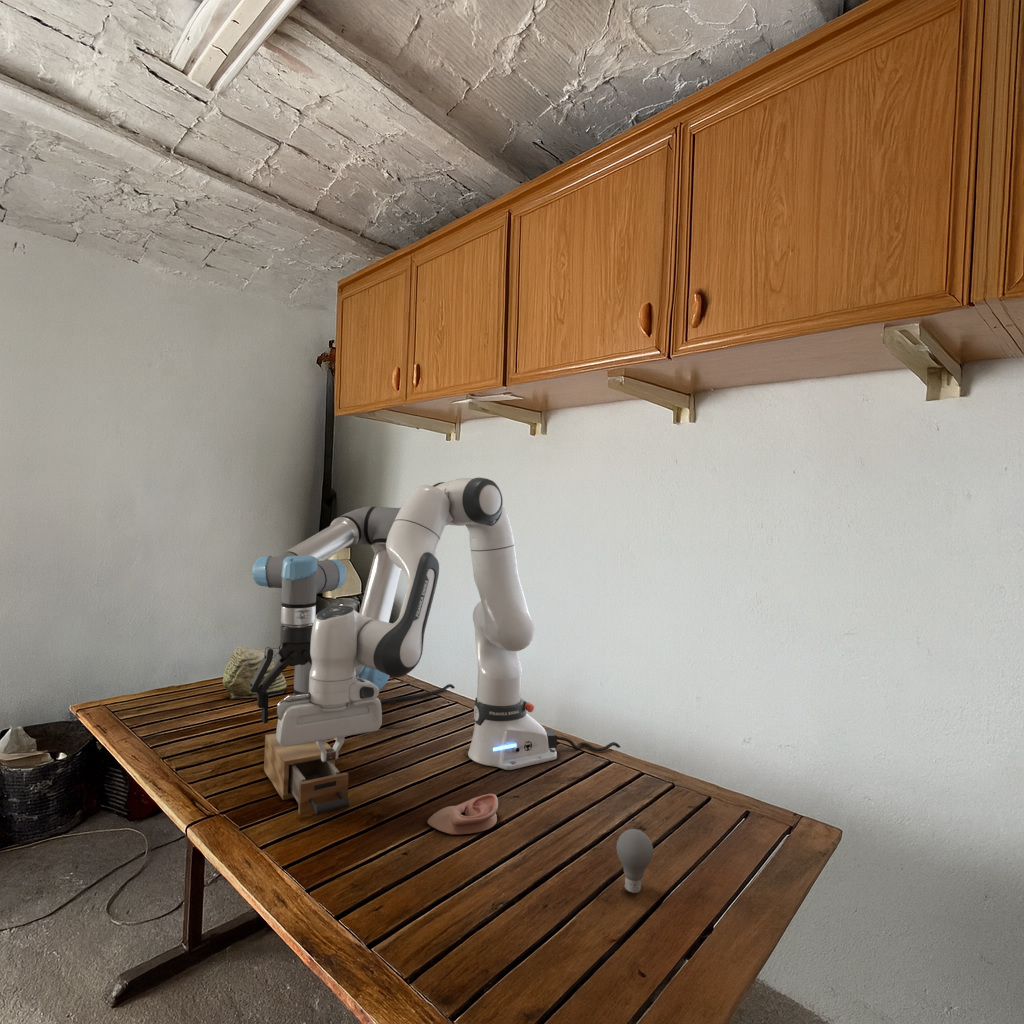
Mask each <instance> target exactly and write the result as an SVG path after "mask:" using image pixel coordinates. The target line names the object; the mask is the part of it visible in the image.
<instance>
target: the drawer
mask: <svg viewBox="0 0 1024 1024" xmlns="http://www.w3.org/2000/svg"><path fill="white" fill-rule="evenodd" d="M349 775H350V774H349V773H348V772H347V771H346V772H340V770H339V769H338V768H337V766H336V765H335V766H334V765H333V764H332V762H331V761H325V762H323V761H322V760H321V759H317V760H312V761H307V762H302V763H297V764H292V765H289V780H288V789H289V790H290V792H291V793H292V795H293V796H294V798H293V799H295V800H296V802H297V805H298V806H297V807H298V809H297V814H298V815H299V817H301V816H305V815H309V814H313V813H314V814H315V815H320V814H324V813H328V812H333V811H337V810H341V809H344V808H348V807H350V804H351V803H350V798H349Z"/></svg>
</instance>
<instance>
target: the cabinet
mask: <svg viewBox="0 0 1024 1024" xmlns="http://www.w3.org/2000/svg"><path fill="white" fill-rule="evenodd" d="M323 746H324V748H325V750H326V749H331V748H332V745H331V746H330V744H329V743H328V742H327V741H326V745H323ZM263 758H264V760H263V761H264V763H263V771H264V773H265V775H266V776H267V778H268V779H269V781H270V782H271V784H272V785H273V787H274V789H275V790H276V792H277V794H278V795H279V796H280V798H281V800H282V801H287V800H291V799H295V798H294V796H293V795H292V793H291V792H290V790H289V789H288V780H289V765H292V764H297V763H302V762H307V761H312V760H317V759H321V751H320V749H319V747H318V746H317V744H316V742H311V743H305V744H300V745H294V746H288V747H283V746H282V745H281V744H279V742H278V741H277V739H276V732H275V733H269V734H265V735H264V757H263ZM330 761H331V762H332V764H333V765H334V766H335V767H336V760H330Z"/></svg>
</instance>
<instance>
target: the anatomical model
mask: <svg viewBox="0 0 1024 1024" xmlns="http://www.w3.org/2000/svg"><path fill="white" fill-rule="evenodd" d="M498 808H499V799H498V797H497V795H496V794H495V793H487V794H483V795H480V796H476V797H473V798H470V799H469V800H467V801H464V802H462V803H459V804H456V805H449V806H446V807H443V808H441V809H439V810H438V811H436V812H434V813H433V814H432V815H431V816H430V817H429V818H428V819H427V825H429V826H430V827H431V828H433V829H435V830H438V831H440V832H443V833H445V834H448V835H455V836H457V835H468V834H475V833H480V832H484V831H486V830H489V829H492V828H493V827H494V826H495V825H496V824H497V821H498V816H497V811H498Z"/></svg>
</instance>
